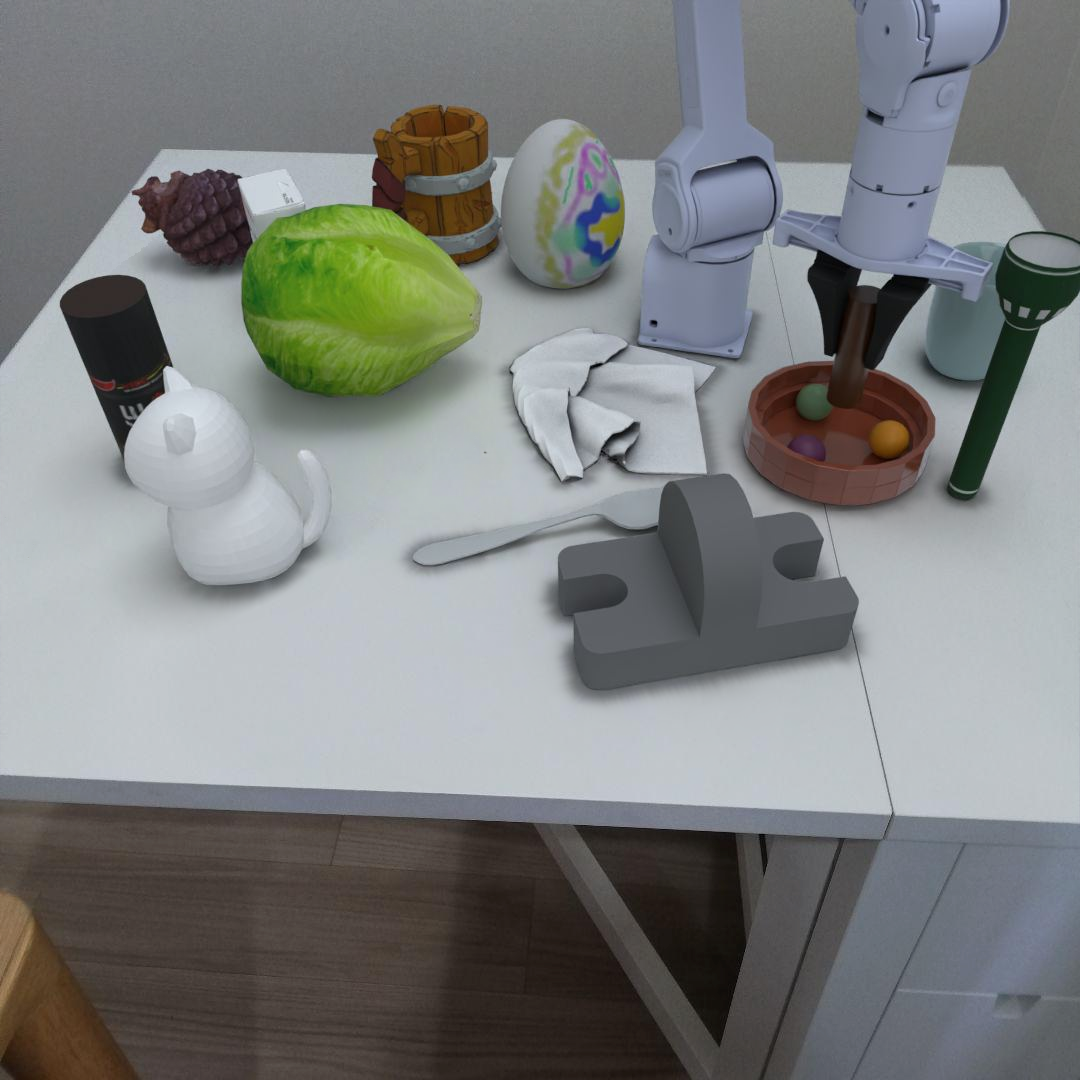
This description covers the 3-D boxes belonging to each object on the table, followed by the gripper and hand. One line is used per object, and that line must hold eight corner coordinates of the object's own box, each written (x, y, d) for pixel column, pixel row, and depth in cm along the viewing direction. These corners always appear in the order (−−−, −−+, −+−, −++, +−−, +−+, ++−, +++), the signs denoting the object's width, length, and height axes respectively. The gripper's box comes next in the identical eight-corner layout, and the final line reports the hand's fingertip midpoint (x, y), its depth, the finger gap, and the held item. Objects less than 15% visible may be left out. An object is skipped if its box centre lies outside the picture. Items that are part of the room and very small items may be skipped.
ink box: (262, 288, 99) (234, 175, 91) (310, 278, 101) (286, 165, 92) (279, 329, 94) (251, 213, 85) (330, 318, 95) (307, 201, 87)
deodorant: (135, 491, 77) (66, 326, 67) (121, 450, 81) (53, 287, 70) (209, 467, 79) (153, 303, 68) (192, 428, 83) (137, 267, 72)
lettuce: (469, 450, 83) (471, 306, 72) (232, 430, 83) (196, 282, 71) (485, 326, 94) (490, 182, 82) (275, 307, 93) (250, 160, 82)
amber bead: (863, 463, 76) (871, 432, 74) (866, 440, 78) (874, 409, 76) (903, 469, 76) (913, 439, 74) (905, 446, 78) (914, 416, 76)
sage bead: (791, 424, 80) (796, 394, 78) (795, 403, 82) (801, 374, 80) (828, 430, 79) (835, 400, 77) (831, 409, 81) (838, 379, 79)
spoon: (692, 526, 73) (694, 510, 71) (417, 579, 69) (415, 563, 68) (673, 490, 75) (675, 474, 74) (409, 540, 72) (406, 524, 71)
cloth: (571, 318, 94) (570, 295, 92) (780, 391, 84) (784, 368, 83) (434, 426, 82) (431, 403, 80) (660, 526, 73) (662, 502, 71)
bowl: (730, 492, 75) (736, 452, 72) (756, 389, 85) (762, 350, 82) (920, 525, 72) (933, 484, 69) (924, 414, 81) (937, 374, 79)
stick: (820, 401, 75) (842, 296, 68) (834, 385, 76) (857, 281, 70) (852, 413, 74) (878, 307, 67) (866, 396, 75) (892, 291, 69)
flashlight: (1007, 488, 75) (1105, 245, 61) (980, 523, 72) (1077, 278, 58) (943, 461, 77) (1023, 222, 63) (915, 495, 74) (992, 253, 60)
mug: (521, 233, 106) (515, 90, 96) (430, 301, 97) (412, 150, 86) (442, 211, 111) (427, 72, 100) (347, 274, 101) (320, 127, 91)
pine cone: (304, 217, 110) (314, 159, 101) (305, 294, 108) (316, 242, 99) (135, 196, 105) (130, 133, 96) (132, 278, 102) (126, 220, 93)
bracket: (853, 646, 64) (890, 526, 56) (585, 692, 62) (586, 574, 54) (799, 546, 71) (825, 427, 63) (555, 584, 69) (552, 466, 61)
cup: (1013, 397, 83) (1053, 291, 76) (917, 388, 84) (948, 284, 77) (1001, 346, 88) (1037, 244, 81) (911, 339, 90) (939, 237, 83)
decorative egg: (571, 313, 94) (570, 160, 84) (479, 274, 100) (468, 126, 90) (646, 264, 101) (654, 116, 90) (555, 230, 107) (553, 87, 96)
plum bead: (780, 477, 75) (786, 447, 73) (785, 454, 77) (791, 423, 75) (820, 484, 75) (827, 454, 73) (824, 460, 77) (830, 430, 75)
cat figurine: (170, 532, 74) (103, 364, 63) (336, 499, 76) (297, 332, 65) (170, 618, 67) (95, 448, 57) (351, 580, 69) (311, 409, 59)
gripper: (1030, 179, 62) (970, 361, 71) (816, 132, 68) (787, 304, 78) (994, 223, 58) (936, 409, 67) (770, 168, 64) (746, 345, 74)
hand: (853, 356), depth 72 cm, fingers closed on stick, 2 cm apart
